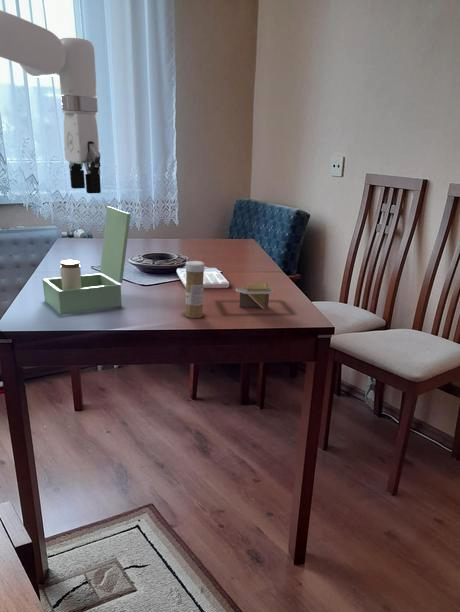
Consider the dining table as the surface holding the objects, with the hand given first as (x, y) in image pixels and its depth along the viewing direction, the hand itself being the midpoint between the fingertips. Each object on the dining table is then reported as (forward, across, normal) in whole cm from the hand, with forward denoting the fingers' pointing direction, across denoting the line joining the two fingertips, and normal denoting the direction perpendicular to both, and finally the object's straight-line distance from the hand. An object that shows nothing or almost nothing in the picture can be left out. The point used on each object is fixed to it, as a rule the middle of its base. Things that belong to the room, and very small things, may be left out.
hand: (85, 190), depth 128 cm
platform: (+29, +17, +38) cm, 51 cm away
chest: (+28, -3, -2) cm, 29 cm away
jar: (+27, -2, -5) cm, 28 cm away
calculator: (+29, -14, +40) cm, 51 cm away
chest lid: (+13, -3, +7) cm, 15 cm away
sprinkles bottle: (+28, +16, +20) cm, 38 cm away
